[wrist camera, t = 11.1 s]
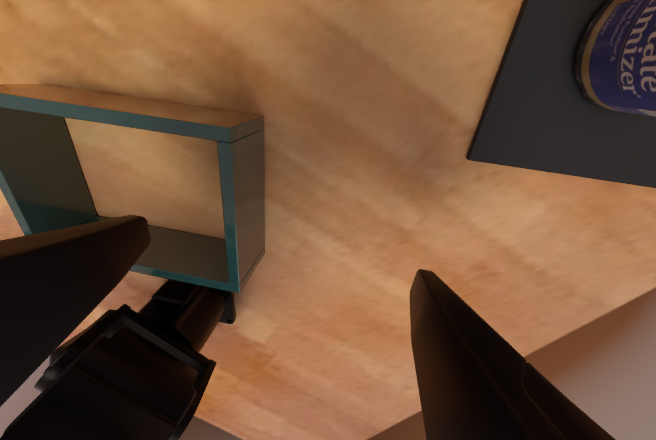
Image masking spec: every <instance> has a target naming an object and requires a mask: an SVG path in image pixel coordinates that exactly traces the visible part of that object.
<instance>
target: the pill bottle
mask: <svg viewBox="0 0 656 440" xmlns="http://www.w3.org/2000/svg"><path fill="white" fill-rule="evenodd" d="M575 77H576V80H577V83H578V84H579V85H580V86H581V88H582V94H583V96H584V97H585V98H586V99H587V100H588V101H590V102H591V103H592V104H594V105H596V106H598V107H601V108H604V109H607V110H614V111H620V112H627V113H634V114H641V115H648V116H655V117H656V0H608V1H607V2H606V3H605V4H604V5H603V7H602V8H601V9H600V10H599V12H598V13H597V14H596V15H595V17H594V18H593V19H592V21H591V23H590V25H589V27H588V28H587V30H586V31H585V34H584V36H583V38H582V40H581V42H580V44H579V48H578V51H577V54H576V60H575Z"/></svg>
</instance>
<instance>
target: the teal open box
mask: <svg viewBox="0 0 656 440" xmlns="http://www.w3.org/2000/svg"><path fill="white" fill-rule="evenodd" d="M63 117H67V118H73V119H79V120H86V121H92V122H99V123H105V124H112V125H118V126H124V127H131V128H137V129H144V130H150V131H157V132H163V133H169V134H176V135H182V136H189V137H195V138H202V139H208V140H214V141H218V142H217V148H218V159H219V170H220V182H221V193H222V205H223V216H224V228H225V239H226V240H224V239H219V238H213V237H208V236H203V235H197V234H192V233H187V232H181V231H176V230H171V229H165V228H160V227H154V226H149V225H148V227H149V232H150V237H151V241H150V244H149V246H148V247H147V249H146V250H145V251H144V252H143V254H142V255H141V256H140V257H139V259H138V260H137V261H136V262H135V264H134V265H133V266H132V267H131V269H130V270H129V271H132V272H137V273H142V274H147V275H152V276H157V277H162V278H167V279H172V280H176V281H181V282H186V283H191V284H196V285H201V286H206V287H211V288H216V289H221V290H226V291H231V292H236V293H240V292H241V291H242V289H243V288H244V286H245V284H246V283H247V281H248V280H249V278H250V276H251V275H252V273H253V272H254V270H255V268H256V267H257V265H258V264H259V262H260V260H261V259H262V257H263V256H264V254H265V248H264V246H265V238H264V116H261V115H254V114H247V113H240V112H234V111H227V110H220V109H213V108H206V107H199V106H192V105H185V104H179V103H172V102H165V101H158V100H151V99H144V98H137V97H130V96H123V95H117V94H110V93H103V92H96V91H89V90H82V89H75V88H68V87H62V86H55V85H48V84H0V188H1V190H2V192H3V194H4V196H5V198H6V200H7V202H8V204H9V206H10V208H11V210H12V212H13V214H14V216H15V218H16V219H17V221H18V223H19V225H20V227H21V229H22V231H23V233H24V235H25V236H27V235H32V234H37V233H42V232H47V231H52V230H57V229H62V228H67V227H72V226H77V225H83V224H88V223H93V222H98V221H103V220H108V219H112V218H106V217H101V216H97V213H96V211H95V208H94V205H93V202H92V199H91V196H90V193H89V190H88V187H87V185H86V182H85V179H84V176H83V173H82V170H81V167H80V164H79V161H78V159H77V156H76V153H75V150H74V147H73V144H72V141H71V138H70V135H69V132H68V130H67V127H66V124H65V121H64V118H63Z"/></svg>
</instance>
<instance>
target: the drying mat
mask: <svg viewBox="0 0 656 440" xmlns="http://www.w3.org/2000/svg"><path fill="white" fill-rule="evenodd" d="M607 1H608V0H524V2H523V5H522V8H521V11H520V13H519V16H518V19H517V21H516V24H515V27H514V30H513V32H512V35H511V38H510V40H509V43H508V46H507V49H506V51H505V54H504V57H503V60H502V62H501V65H500V68H499V70H498V73H497V76H496V79H495V81H494V84H493V87H492V89H491V92H490V95H489V98H488V100H487V103H486V106H485V108H484V111H483V114H482V117H481V119H480V122H479V125H478V127H477V130H476V133H475V136H474V138H473V141H472V144H471V146H470V149H469V152H468V155H467V159H468V160H472V161H479V162H486V163H493V164H499V165H506V166H513V167H519V168H526V169H533V170H539V171H546V172H553V173H559V174H566V175H573V176H579V177H586V178H593V179H600V180H606V181H613V182H620V183H626V184H633V185H640V186H646V187H653V188H656V117H655V116H648V115H641V114H634V113H627V112H620V111H614V110H607V109H604V108H601V107H598V106H596V105H594V104H592V103H591V102H590V101H588V100H587V99H586V98H585V97H584V96H583V94H582V88H581V86H580V85H579V84H578V83H577V80H576V77H575V60H576V54H577V51H578V48H579V44H580V42H581V40H582V38H583V36H584V34H585V31H586V30H587V28H588V27H589V25H590V23H591V21H592V19H593V18H594V17H595V15H596V14H597V13H598V12H599V10H600V9H601V8H602V7H603V5H604V4H605V3H606V2H607Z"/></svg>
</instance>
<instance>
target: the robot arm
mask: <svg viewBox="0 0 656 440" xmlns="http://www.w3.org/2000/svg"><path fill="white" fill-rule="evenodd" d="M150 241H151V237H150V232H149V227H148V223H147V220H146V219H145V218H144V217H140V216H135V215H128V216H123V217H118V218H113V219H108V220H103V221H98V222H93V223H88V224H83V225H77V226H72V227H67V228H62V229H57V230H52V231H47V232H42V233H37V234H32V235H27V236H22V237H16V238H11V239H6V240H1V241H0V407H1V406H2V405H3V404H4V402H6V401H7V399H8V398H9V397H10V396H11V395H12V394H13V393H14V392H15V391H16V390H17V389H18V388H19V387H20V386H21V385H22V384H23V383H24V382H25V381H26V380H27V379H28V378H29V376H30V375H31V374H32V373H33V372H34V371H35V370H36V369H37V368H38V367H39V366H40V365H41V364H42V363H43V362H44V361H45V360H46V359H47V358H48V356H50V360H49V367H48V368H47V369H46V370H45V372H44V373H43V374H44V375H43V376H42V377H41V378H40V379H39V380H38V382H37V383H36V385H35V386H34V388H35V389H37V390H39V391H41V392H42V393H41V394H40V395H39V396H38V397H37V398H36V399H35V400H34V401H33V402H32V403H31V404H30V405H29V406H28V407H27V408H26V409H25V410H24V411H23V412H22V413H21V414H20V415H19V416H18V417H17V418H16V419H15V420H14V421H13V422H12V423H11V424H10V425H9V426H8V427H7V428H6V430H5V432H4V434H3V436H2V437H1V438H0V440H178V439H179V438H180V436H181V435H182V433H183V432H184V430H185V429H186V427H187V426H188V424H189V422H190V421H191V419H192V417H193V415H194V414H195V412H196V409H197V407H198V405H199V403H200V400H201V398H202V396H203V393H204V391H205V389H206V386H207V384H208V382H209V379H210V377H211V375H212V372H213V370H214V368H215V365H216V362H215V361H213V360H212V359H211V360H209V359H208V358H206V357H205V356H203V355H202V354H200V353H199V352H200V350H201V349H202V347H203V346H204V344H205V343H206V341H207V339H208V338H209V336H210V335H211V333H212V332H213V330H214V328H215V327H216V325H217V324H218V322H223V323H227V324H233V323H234V321H235V306H234V293H233V292H231V291H226V290H221V289H216V288H211V287H206V286H201V285H196V284H191V283H186V282H181V281H176V280H172V279H168V281H167V282H165V283H164V284H163V285H162V286H161V287H160V288H159V289H158V290H157V291H156V292H155V293H154V294H153V295H152V299H151V300H150V301H149V302H148V303H147V304H146V305H145V306H144V307H143V308H142V309H141V310H140V311H139V312H138V313H136V312H135V311H133V310H132V309H130V308H131V307H130V306H128V305H127V304H124V305H122V306H121V307H120V308H119V309H117V310H108V311H107V312H106V313H105V314H103V315H102V316H101V317H100V318H99V319H98V320H97V321H95V322H94V323H93V324H92V325H90V326H89V327H88V328H86V329H85V330H84V331H82V332H81V333H79V334H78V335H76V336H75V337H73V338H72V339H70V340H69V341H67V342H66V343H64V344H63V345H61V346H60V347H58V346H59V345H60V344H61V343H62V342H63V341H64V340H65V339H66V338H67V337H68V336H69V335H70V334H71V333H72V332H73V331H74V329H75V328H76V327H77V326H78V325H79V324H80V323H81V322H82V321H83V320H84V319H85V318H86V317H87V316H88V315H89V314H90V313H91V312H92V311H93V310H94V309H95V308H96V306H97V305H98V304H99V303H100V302H101V301H102V300H103V299H104V298H105V297H106V296H107V295H108V294H109V293H110V292H111V291H112V290H113V289H114V288H115V287H116V286H117V284H118V283H119V282H120V281H121V280H122V279H123V277H124V276H125V275H126V274H127V273H128V271H129V270H130V269H131V267H132V266H133V265H134V264H135V262H136V261H137V260H138V259H139V257H140V256H141V255H142V254H143V252H144V251H145V250H146V249H147V247H148V246H149V244H150ZM410 319H411V342H412V349H413V356H414V362H415V369H416V375H417V382H418V388H419V394H420V401H421V407H422V414H423V420H424V426H425V433H426V439H427V440H615V439H614V438H613V437H612V436H610V435H609V434H608V433H607V432H606V431H605V430H604V429H602V428H601V427H600V426H599V425H598V424H597V423H595V422H594V421H593V420H592V419H591V418H590V417H588V416H587V415H586V414H585V413H584V412H583V411H581V410H580V409H579V408H578V407H577V406H576V405H575V404H574V403H572V402H571V401H570V400H569V399H568V398H567V397H566V396H564V395H563V394H562V393H561V392H560V391H559V390H558V389H557V388H556V387H555V386H554V385H552V384H551V383H550V382H549V381H548V380H547V379H546V378H545V377H544V376H543V375H542V374H541V373H540V372H538V371H537V370H536V369H535V368H534V367H533V366H532V365H531V364H530V363H526V360H525V358H524V357H522V356H521V355H520V354H519V353H518V352H517V351H516V350H515V349H514V348H513V347H512V346H511V345H510V344H509V343H508V342H507V341H506V340H504V339H503V338H502V337H501V336H500V335H499V334H498V333H497V332H496V331H495V330H494V329H493V328H492V327H491V326H490V325H489V324H488V323H486V322H485V321H484V320H483V319H482V318H481V317H480V316H479V315H478V314H477V313H476V312H475V311H474V310H473V309H472V308H471V307H470V306H468V305H467V304H466V303H465V302H464V301H463V300H462V299H461V298H460V297H459V296H458V295H457V294H456V293H455V292H454V291H453V290H452V289H450V288H449V287H448V286H447V285H446V284H445V283H444V282H443V281H442V280H441V279H440V278H439V277H438V276H437V275H436V274H435V273H433V272H432V271H428V270H422V269H419V270H418V271H417V273H416V276H415V278H414V281H413V284H412V287H411V290H410ZM57 347H58V348H57ZM56 348H57V349H56ZM55 349H56V350H55ZM54 350H55V351H54ZM53 351H54V352H53ZM52 352H53V353H52Z"/></svg>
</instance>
